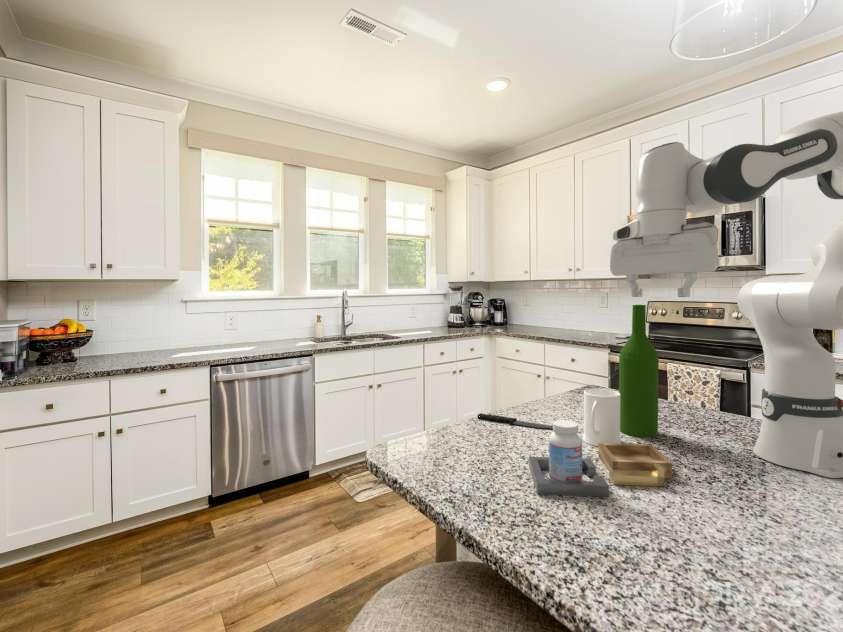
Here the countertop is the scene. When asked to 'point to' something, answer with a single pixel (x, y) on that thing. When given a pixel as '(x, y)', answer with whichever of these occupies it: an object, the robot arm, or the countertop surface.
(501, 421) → the knife
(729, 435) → the countertop surface
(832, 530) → the countertop surface
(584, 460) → the socket
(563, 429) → the pill bottle
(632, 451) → the tray
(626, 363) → the wine bottle
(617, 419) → the mug
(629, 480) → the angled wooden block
